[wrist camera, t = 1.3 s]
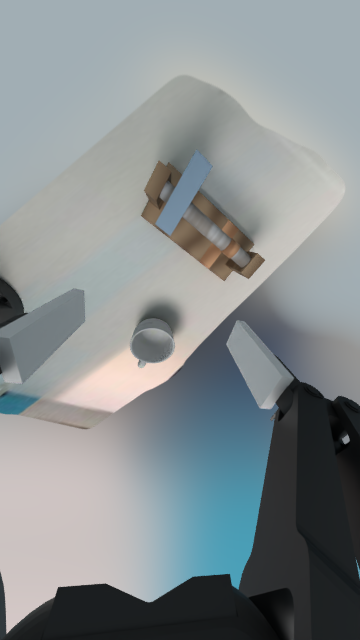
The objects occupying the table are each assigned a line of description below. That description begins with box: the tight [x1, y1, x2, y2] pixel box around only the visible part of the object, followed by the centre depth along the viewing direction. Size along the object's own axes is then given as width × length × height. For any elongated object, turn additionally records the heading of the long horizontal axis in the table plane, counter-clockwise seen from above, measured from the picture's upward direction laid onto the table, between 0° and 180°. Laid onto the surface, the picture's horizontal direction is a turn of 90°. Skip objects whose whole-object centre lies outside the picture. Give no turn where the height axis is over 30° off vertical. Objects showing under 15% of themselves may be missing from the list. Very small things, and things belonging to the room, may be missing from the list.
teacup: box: [130, 318, 175, 368], centre depth 43 cm, size 14×11×8 cm
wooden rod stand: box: [141, 161, 265, 281], centre depth 30 cm, size 23×10×10 cm, turn 54°
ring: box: [155, 150, 213, 236], centre depth 25 cm, size 2×9×10 cm, turn 144°
